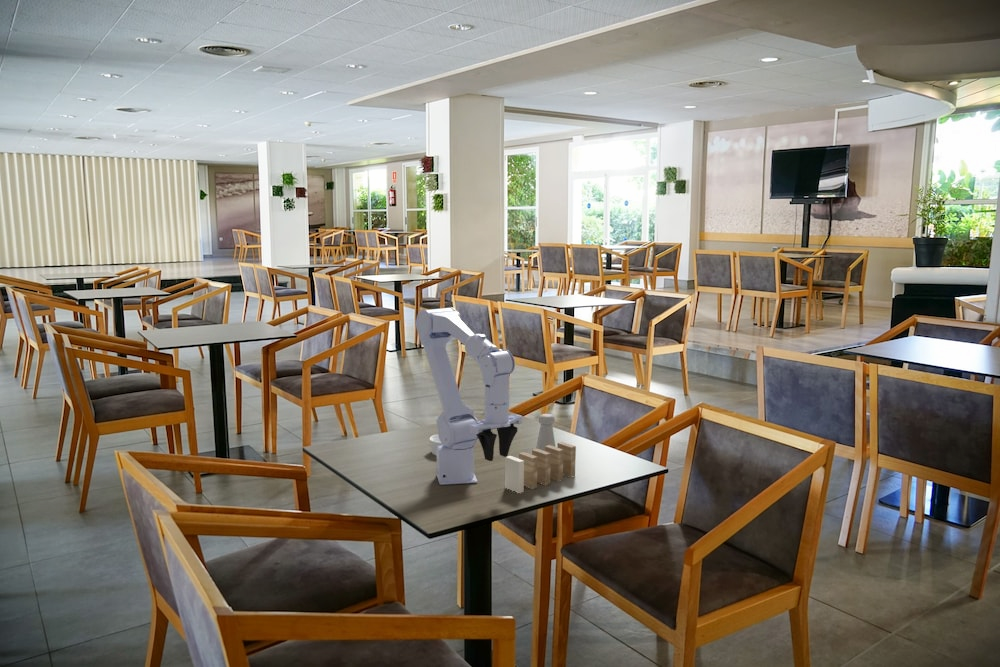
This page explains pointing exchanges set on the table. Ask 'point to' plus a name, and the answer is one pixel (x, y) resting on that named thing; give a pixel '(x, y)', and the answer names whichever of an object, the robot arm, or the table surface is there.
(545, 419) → the salt shaker
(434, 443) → the ramekin
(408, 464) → the table surface
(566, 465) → the domino
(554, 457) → the domino
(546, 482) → the domino
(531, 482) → the domino
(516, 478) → the front domino
